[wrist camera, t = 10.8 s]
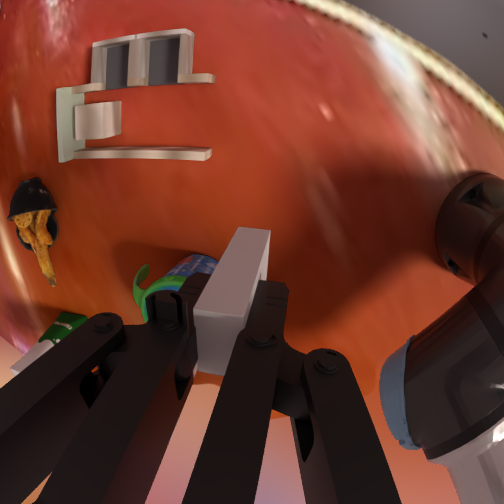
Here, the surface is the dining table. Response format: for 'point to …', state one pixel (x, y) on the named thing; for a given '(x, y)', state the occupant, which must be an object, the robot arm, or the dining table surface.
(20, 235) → the fried shrimp in bowl
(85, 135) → the cream block
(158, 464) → the robot arm
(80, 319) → the milk carton
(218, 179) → the dining table surface
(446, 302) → the dining table surface
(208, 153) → the box
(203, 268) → the snack cup
